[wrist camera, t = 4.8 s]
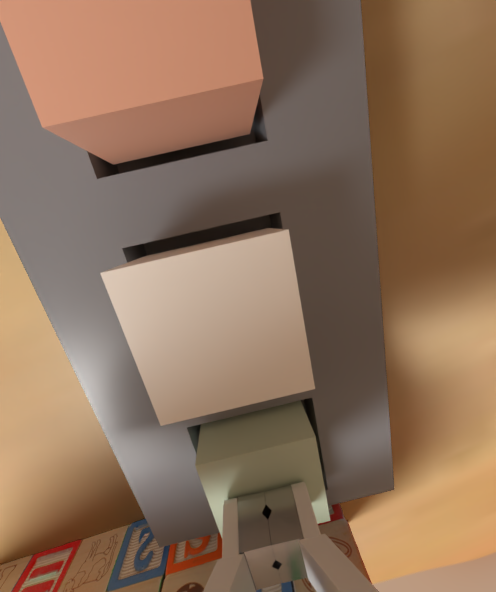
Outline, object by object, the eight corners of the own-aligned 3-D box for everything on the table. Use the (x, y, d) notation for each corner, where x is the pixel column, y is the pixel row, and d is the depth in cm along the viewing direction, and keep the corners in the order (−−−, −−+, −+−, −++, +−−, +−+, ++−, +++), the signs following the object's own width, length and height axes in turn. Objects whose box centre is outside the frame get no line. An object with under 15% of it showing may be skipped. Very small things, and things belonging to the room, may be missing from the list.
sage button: (203, 404, 11) (195, 465, 8) (293, 383, 11) (315, 436, 9) (225, 472, 13) (224, 546, 10) (307, 453, 13) (330, 520, 10)
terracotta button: (52, -16, 6) (-95, -217, 3) (214, -51, 6) (203, -277, 4) (113, 164, 8) (42, 127, 5) (249, 133, 8) (263, 78, 5)
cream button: (144, 256, 8) (100, 272, 5) (267, 228, 8) (288, 229, 5) (180, 364, 10) (160, 426, 7) (288, 339, 10) (315, 388, 7)
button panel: (-18, 20, 8) (-148, -89, 5) (306, -49, 8) (347, -191, 6) (173, 482, 14) (159, 547, 11) (361, 436, 14) (394, 489, 12)
